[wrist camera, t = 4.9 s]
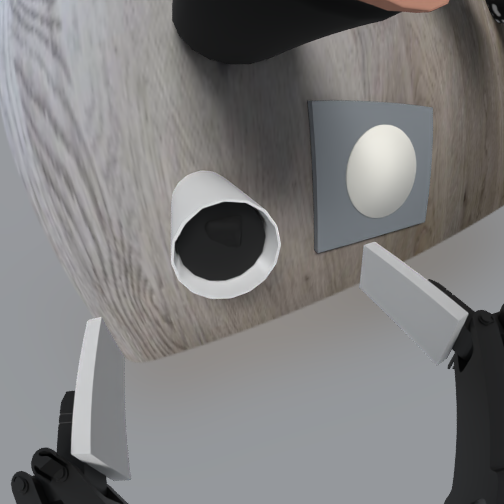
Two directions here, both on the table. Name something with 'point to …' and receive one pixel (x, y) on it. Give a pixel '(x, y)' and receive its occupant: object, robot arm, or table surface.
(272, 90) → the table surface
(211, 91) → the table surface
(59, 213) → the table surface
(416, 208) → the board
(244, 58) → the coffee jar
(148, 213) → the table surface
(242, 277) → the white cup
